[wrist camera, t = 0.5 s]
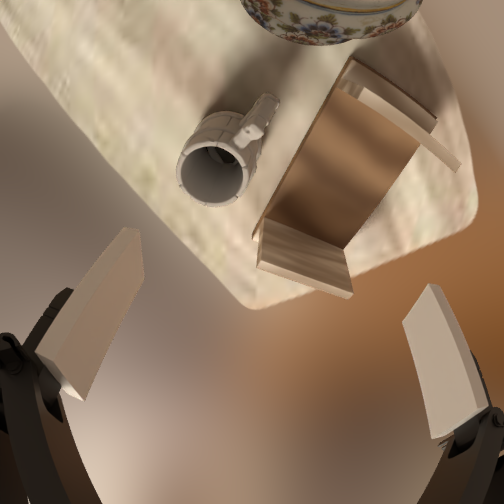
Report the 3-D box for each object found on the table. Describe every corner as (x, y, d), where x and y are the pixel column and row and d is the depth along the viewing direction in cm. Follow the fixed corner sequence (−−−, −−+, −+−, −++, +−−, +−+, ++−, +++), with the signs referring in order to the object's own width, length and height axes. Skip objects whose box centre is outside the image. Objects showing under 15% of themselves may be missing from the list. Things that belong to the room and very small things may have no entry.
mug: (183, 145, 31) (143, 194, 21) (247, 67, 24) (230, 75, 15) (233, 181, 33) (216, 243, 24) (301, 112, 27) (316, 146, 18)
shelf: (349, 56, 22) (380, 59, 15) (431, 114, 24) (475, 141, 17) (252, 232, 38) (246, 283, 31) (326, 261, 41) (334, 312, 34)
